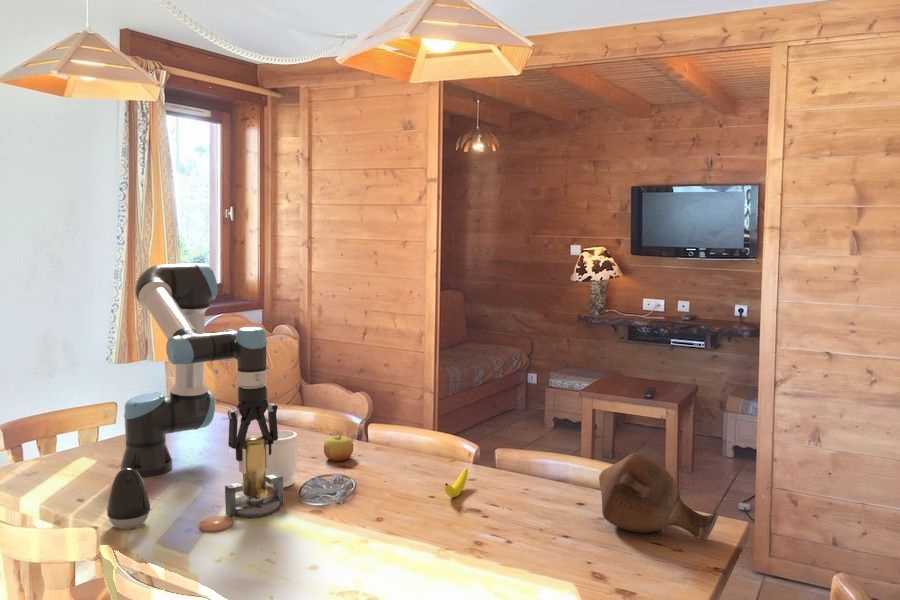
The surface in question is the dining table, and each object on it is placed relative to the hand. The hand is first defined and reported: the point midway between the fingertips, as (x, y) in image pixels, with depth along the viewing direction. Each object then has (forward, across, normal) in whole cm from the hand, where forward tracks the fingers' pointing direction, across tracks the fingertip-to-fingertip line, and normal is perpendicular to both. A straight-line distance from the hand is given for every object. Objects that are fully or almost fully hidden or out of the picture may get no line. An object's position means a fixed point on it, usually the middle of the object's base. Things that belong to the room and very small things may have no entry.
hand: (254, 469), depth 211 cm
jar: (+11, +15, +14) cm, 23 cm away
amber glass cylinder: (+6, 0, 0) cm, 6 cm away
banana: (+11, +50, -26) cm, 58 cm away
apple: (+11, +41, +23) cm, 48 cm away
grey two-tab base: (+11, 0, 0) cm, 11 cm away
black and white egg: (+11, -30, +10) cm, 34 cm away
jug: (+11, +71, -79) cm, 107 cm away
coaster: (+11, -13, -4) cm, 18 cm away
